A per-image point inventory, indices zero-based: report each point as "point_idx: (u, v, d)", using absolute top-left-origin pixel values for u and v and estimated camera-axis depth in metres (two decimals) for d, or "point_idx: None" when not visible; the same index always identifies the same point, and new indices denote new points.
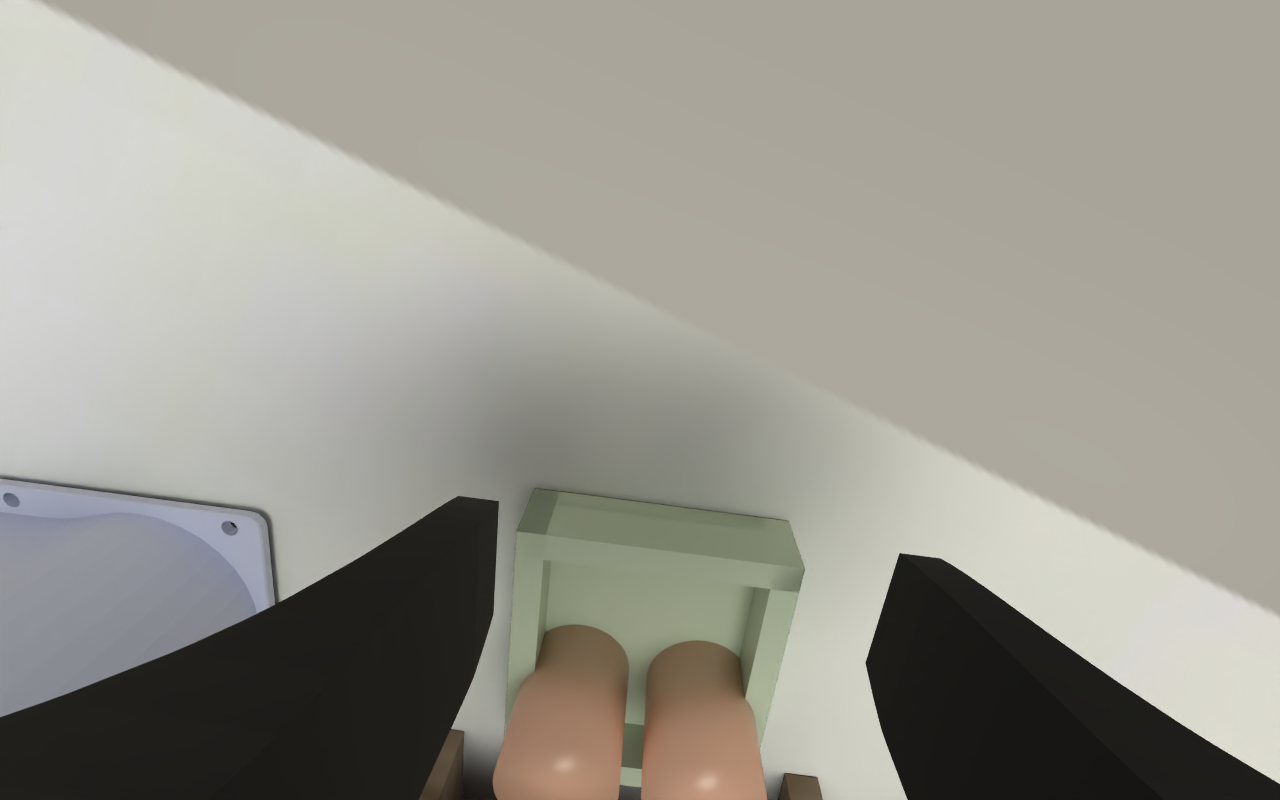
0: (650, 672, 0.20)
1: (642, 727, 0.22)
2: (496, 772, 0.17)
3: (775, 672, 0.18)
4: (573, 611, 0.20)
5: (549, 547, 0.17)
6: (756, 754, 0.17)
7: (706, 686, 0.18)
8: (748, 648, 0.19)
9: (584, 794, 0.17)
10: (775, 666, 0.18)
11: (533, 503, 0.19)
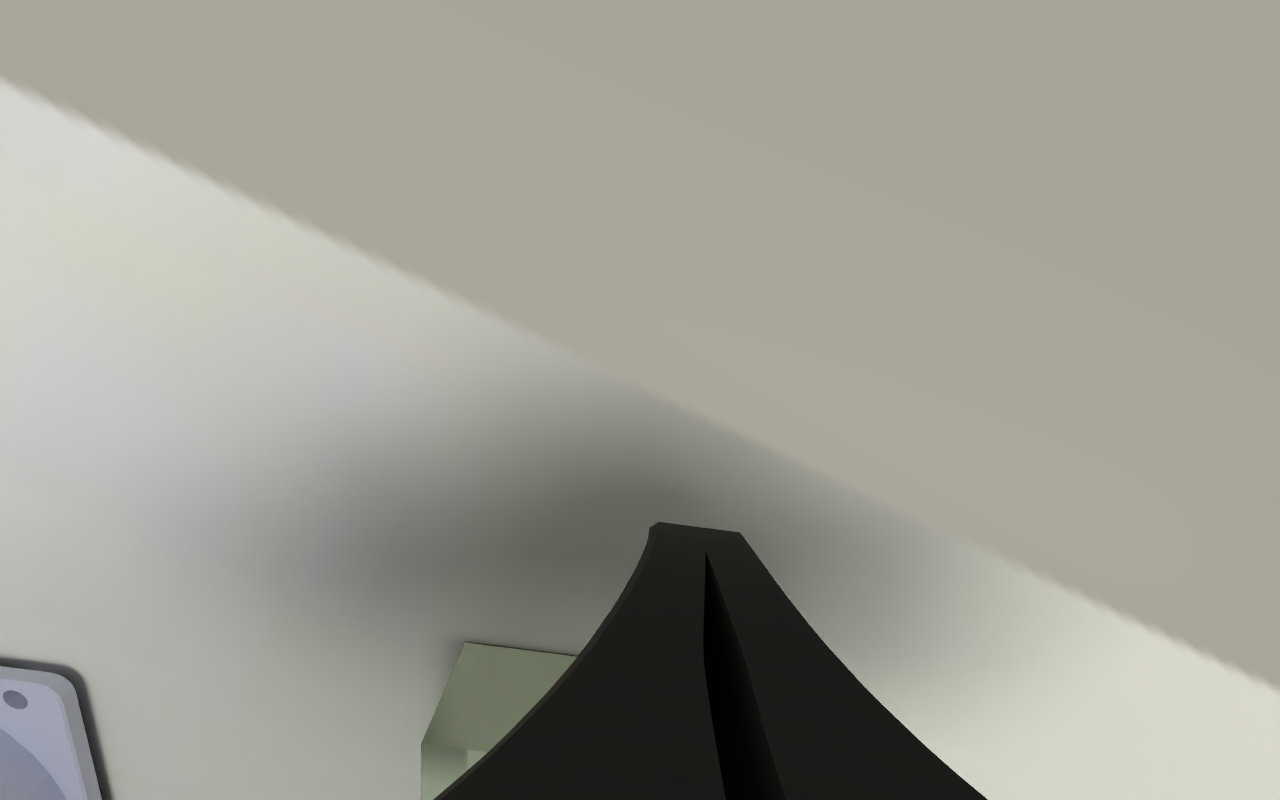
0: None
1: None
2: None
3: None
4: None
5: None
6: None
7: None
8: None
9: None
10: None
11: (458, 675, 0.12)
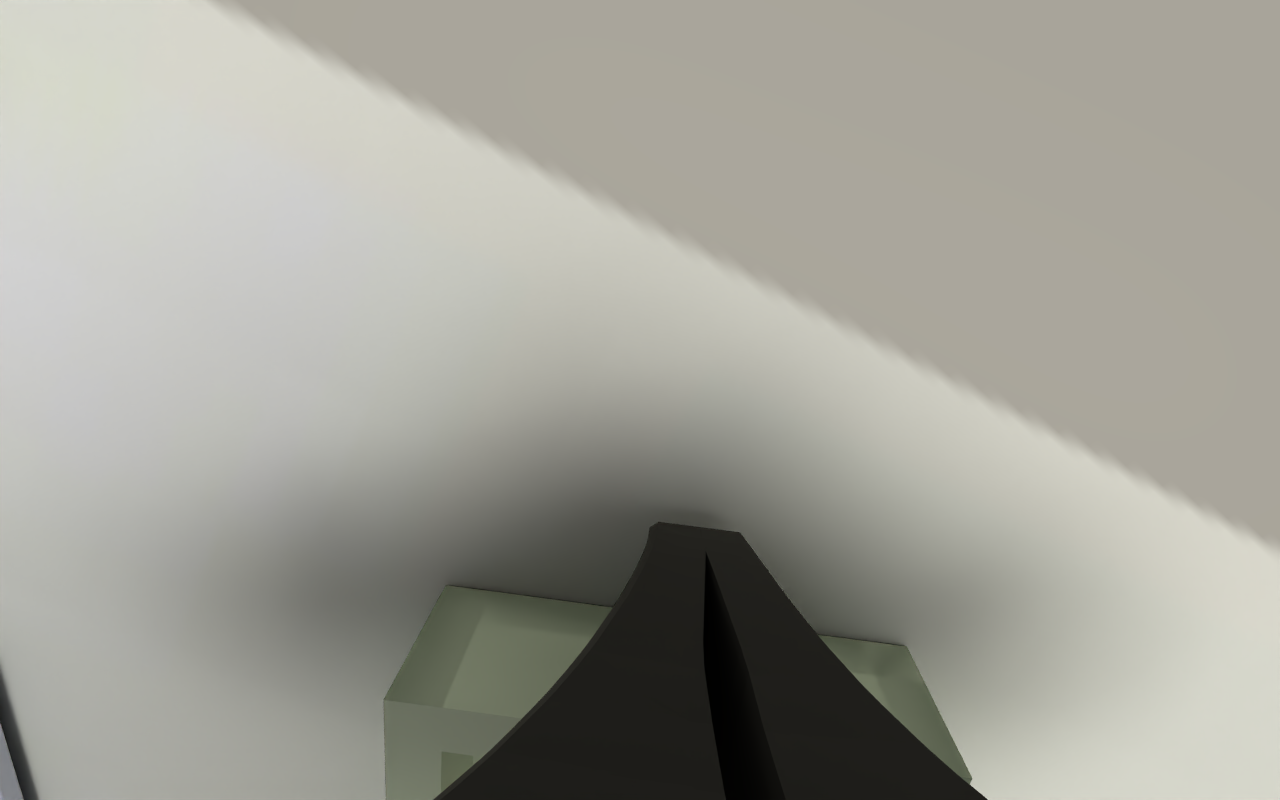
0: None
1: None
2: None
3: None
4: None
5: (452, 729, 0.09)
6: None
7: None
8: None
9: None
10: None
11: (435, 621, 0.10)
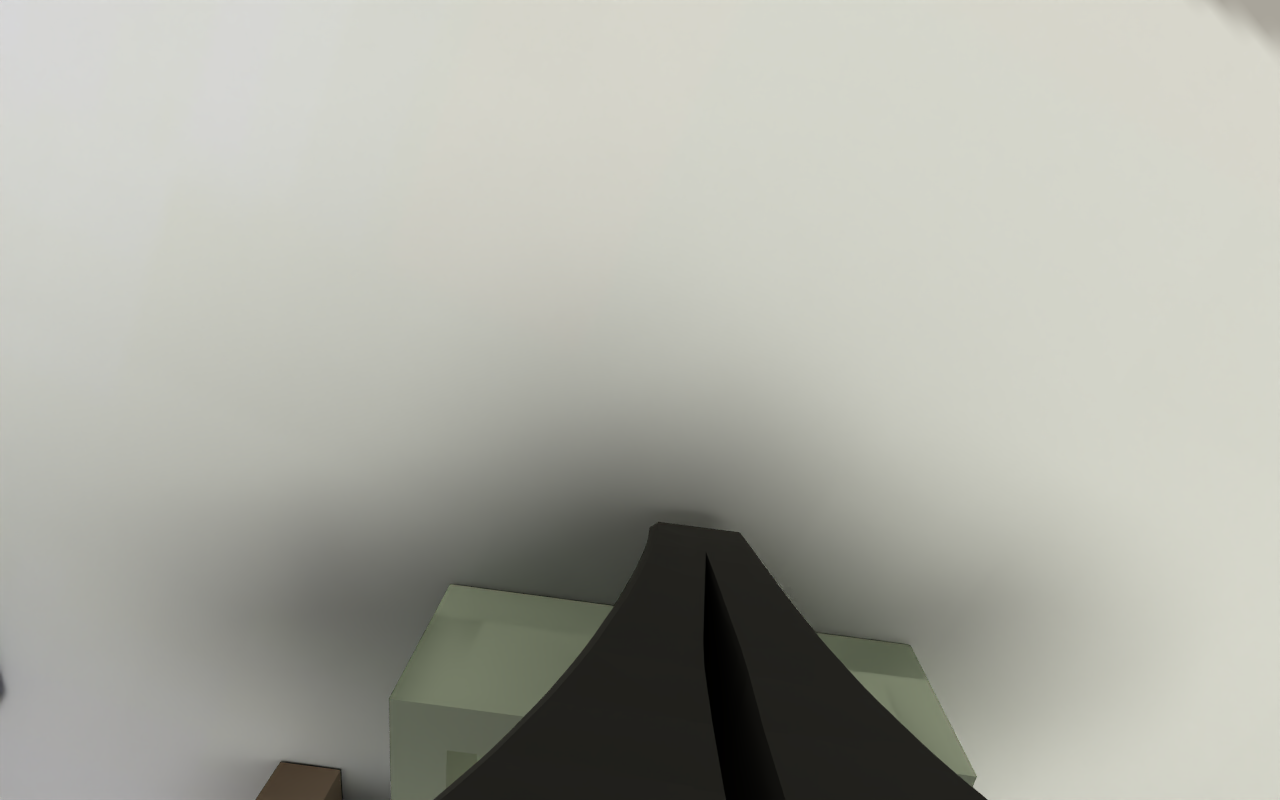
0: None
1: None
2: None
3: None
4: None
5: (457, 728, 0.09)
6: None
7: None
8: None
9: None
10: None
11: (440, 620, 0.10)
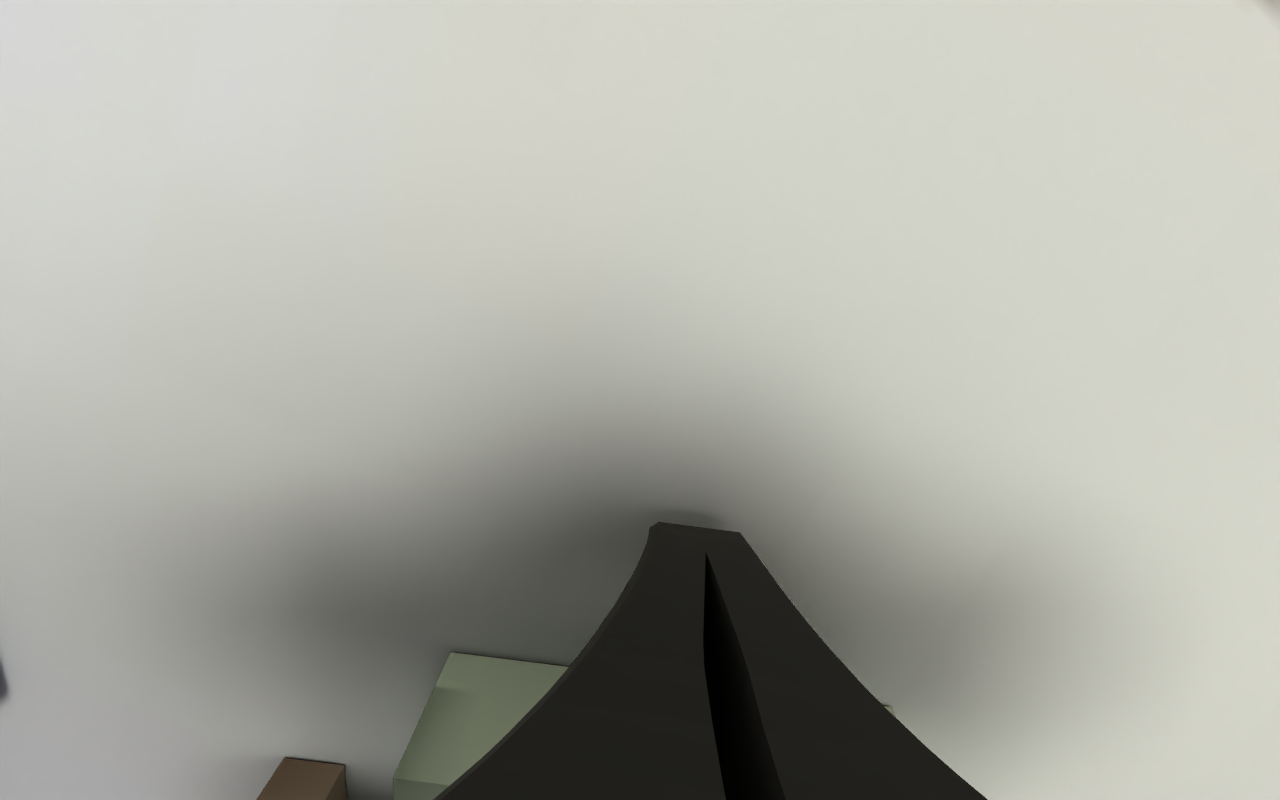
0: None
1: None
2: None
3: None
4: None
5: None
6: None
7: None
8: None
9: None
10: None
11: (441, 692, 0.10)
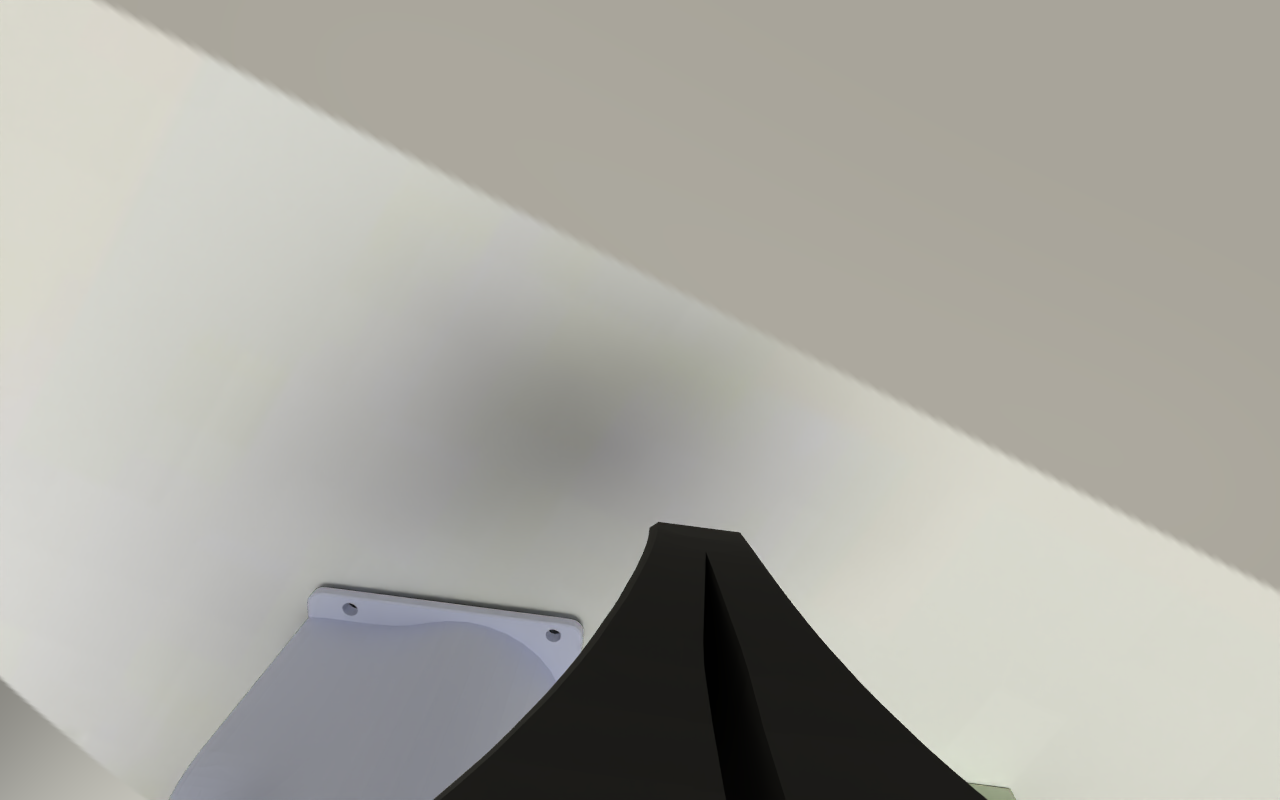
0: None
1: None
2: None
3: None
4: None
5: None
6: None
7: None
8: None
9: None
10: None
11: None
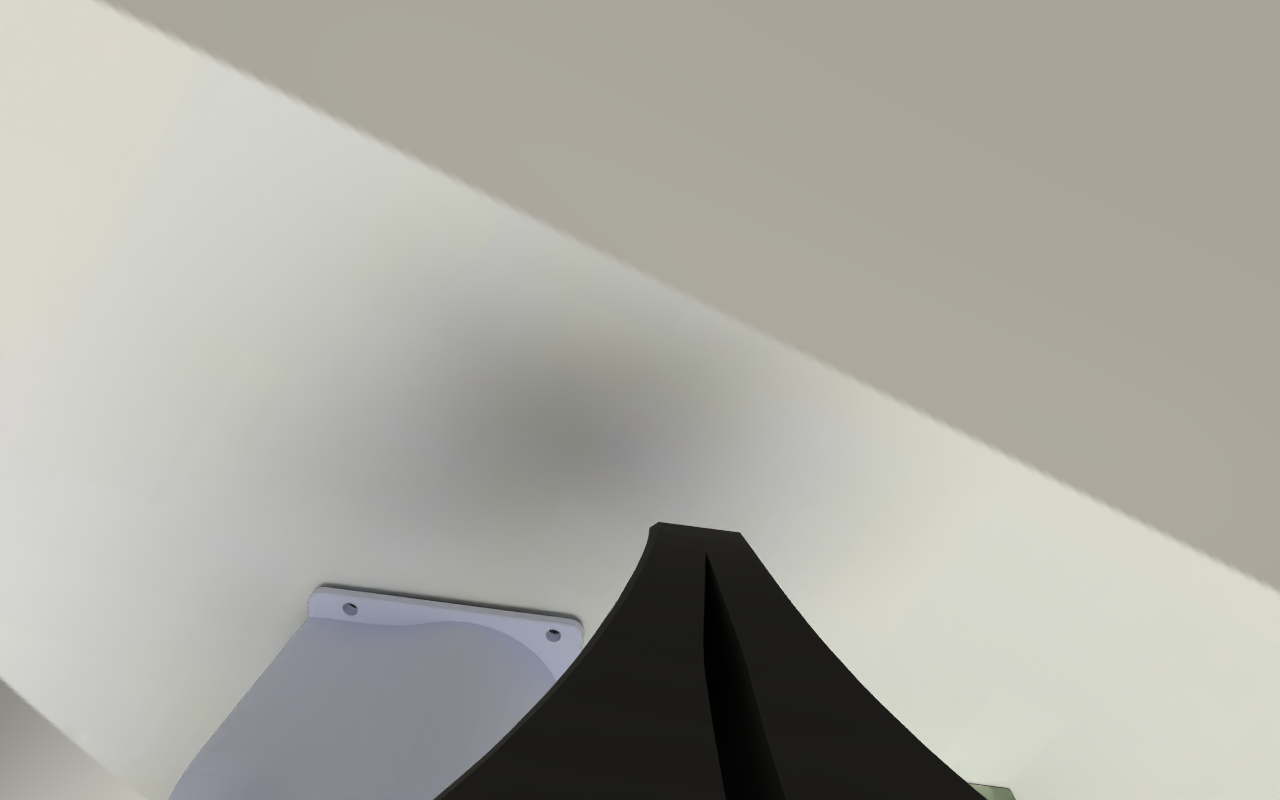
0: None
1: None
2: None
3: None
4: None
5: None
6: None
7: None
8: None
9: None
10: None
11: None
